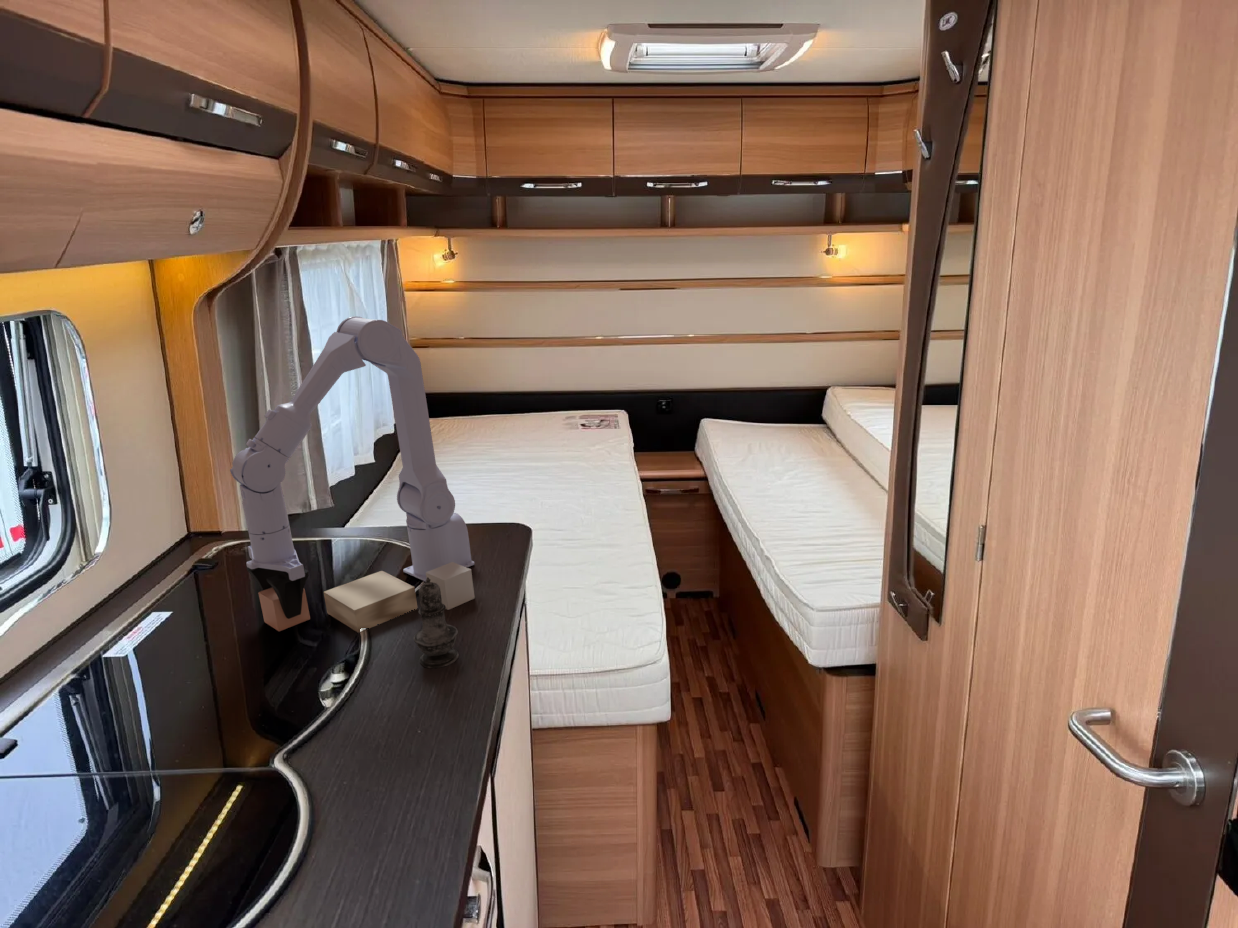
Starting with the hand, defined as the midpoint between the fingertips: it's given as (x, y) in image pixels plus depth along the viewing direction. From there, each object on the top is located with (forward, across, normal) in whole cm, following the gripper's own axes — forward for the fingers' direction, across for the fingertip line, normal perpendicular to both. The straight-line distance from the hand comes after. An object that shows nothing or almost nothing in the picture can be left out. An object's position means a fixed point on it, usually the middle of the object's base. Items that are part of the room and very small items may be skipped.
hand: (285, 610), depth 132 cm
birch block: (+2, +8, +10) cm, 13 cm away
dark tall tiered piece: (+2, +29, +8) cm, 30 cm away
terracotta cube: (+2, 0, 0) cm, 2 cm away
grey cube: (+2, +15, +20) cm, 25 cm away
